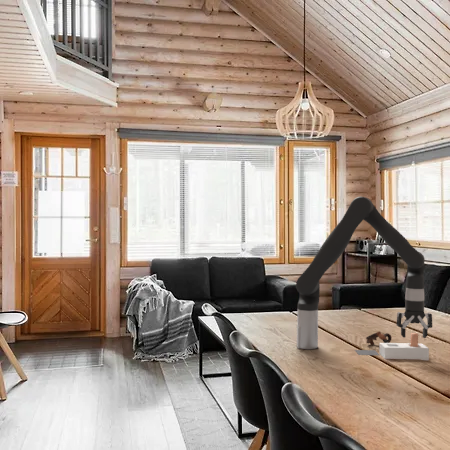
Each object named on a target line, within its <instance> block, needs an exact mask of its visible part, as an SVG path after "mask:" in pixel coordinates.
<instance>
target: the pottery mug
mask: <svg viewBox="0 0 450 450" xmlns="http://www.w3.org/2000/svg"><path fill="white" fill-rule="evenodd" d="M377 338H379V340H382V343H391V342H392V335H391V334H390V333H388V332H387V333H384V334H383V333H382V332H381V331H377V332H373V333H372V334H370V335H368V336H366V337H365V339H366V344H370V345H372V346H373V345H375V342H374V341H377Z"/></svg>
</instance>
